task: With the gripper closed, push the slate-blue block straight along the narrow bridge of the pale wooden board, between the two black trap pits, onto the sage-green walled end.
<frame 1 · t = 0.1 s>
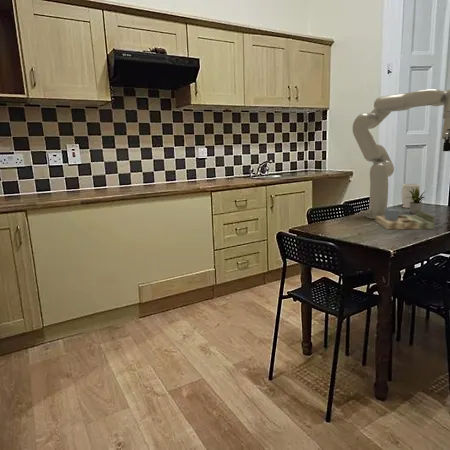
hand: (448, 150, 184), 37 cm above the table, tool pointing down, fingers open, 9 cm apart
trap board: (402, 224, 193), on the table
house plant: (413, 212, 224), on the table
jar: (409, 207, 242), on the table
block: (391, 219, 193), point 3 cm above the table, touching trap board
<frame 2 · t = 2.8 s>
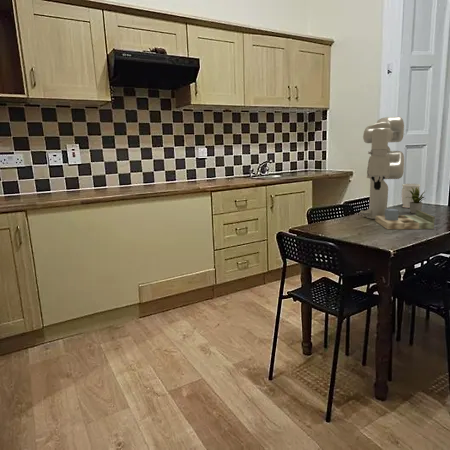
hand: (377, 189, 190), 19 cm above the table, tool pointing down, fingers closed
nothing on the table moved.
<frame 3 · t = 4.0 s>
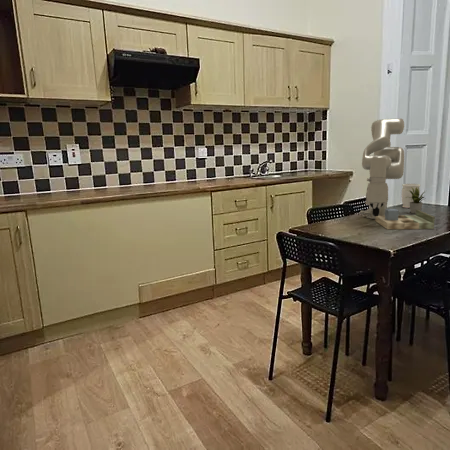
hand: (375, 215, 193), 5 cm above the table, tool pointing down, fingers closed
nothing on the table moved.
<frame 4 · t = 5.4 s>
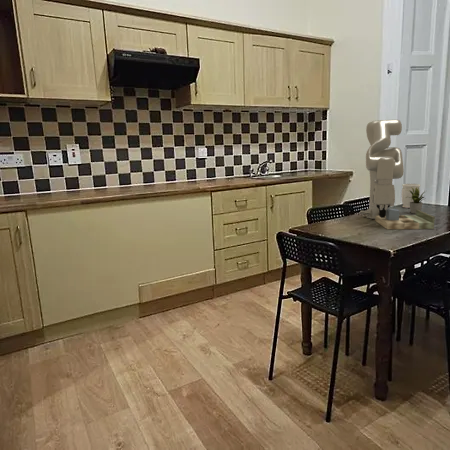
hand: (382, 217, 193), 4 cm above the table, tool pointing down, fingers closed
block: (392, 219, 193), point 3 cm above the table, touching gripper
everything else where it was.
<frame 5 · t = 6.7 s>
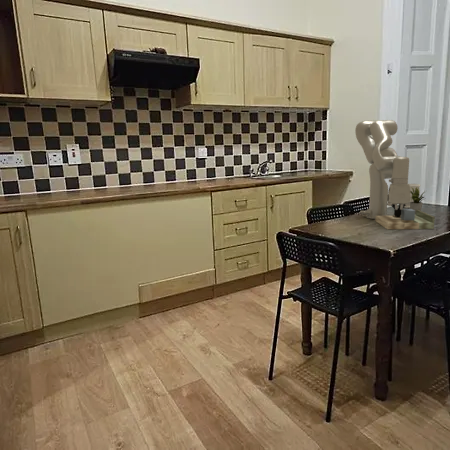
hand: (397, 216, 192), 4 cm above the table, tool pointing down, fingers closed
block: (407, 219, 191), point 3 cm above the table, touching gripper, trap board
everything else where it was.
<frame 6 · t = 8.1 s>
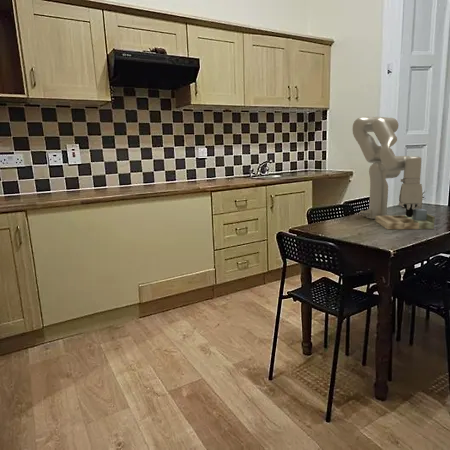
hand: (409, 216, 191), 4 cm above the table, tool pointing down, fingers closed
block: (419, 219, 190), point 3 cm above the table, touching gripper, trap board
everything else where it was.
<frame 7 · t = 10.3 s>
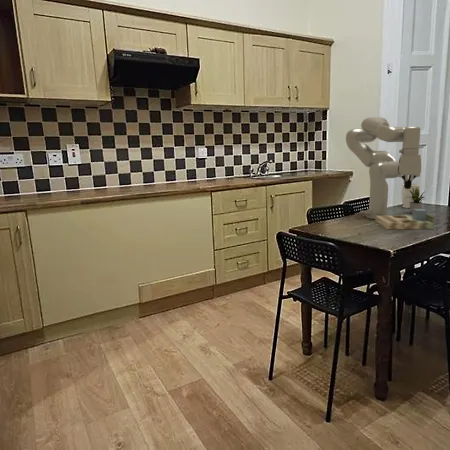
hand: (407, 188, 189), 19 cm above the table, tool pointing down, fingers closed
block: (419, 219, 190), point 3 cm above the table, touching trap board
everything else where it was.
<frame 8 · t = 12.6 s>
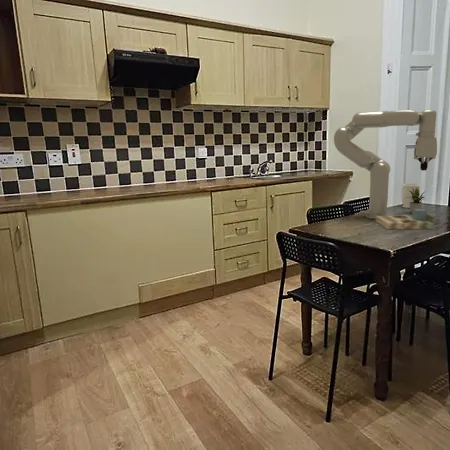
hand: (423, 170, 197), 27 cm above the table, tool pointing down, fingers closed
nothing on the table moved.
at the end: block 0.9 cm from the target spot on the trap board, point 3.0 cm above the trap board's base; block tilted 0° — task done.
